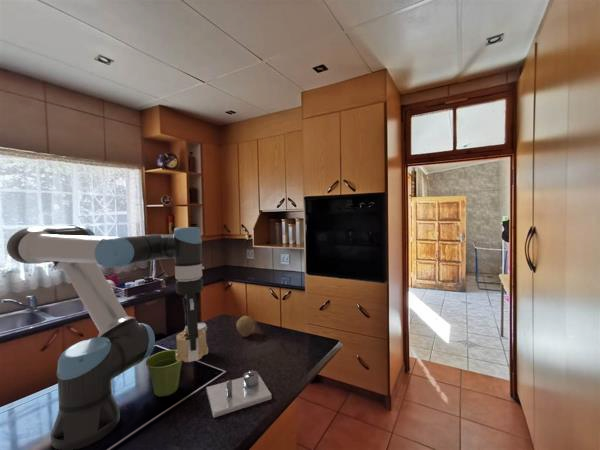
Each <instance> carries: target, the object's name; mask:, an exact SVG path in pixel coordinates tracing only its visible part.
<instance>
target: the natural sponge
mask: <svg viewBox="0 0 600 450" xmlns="http://www.w3.org/2000/svg"><path fill="white" fill-rule="evenodd" d="M255 326H256V325H255V321H254V319H253V318H252V317H251V316H249V315H243V316H241V317H239V319H238V320H237V321H236V330H237V331H238V333H239V334H240V335H241V336H242V337H244V338H245V337H246V338H247V337H248V336H250V335H252V334H254V332H255V330H256V327H255Z"/></svg>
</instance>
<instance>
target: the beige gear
mask: <svg viewBox="0 0 600 450" xmlns="http://www.w3.org/2000/svg"><path fill="white" fill-rule="evenodd" d="M191 335H192V334H191ZM198 335H199V337H198V357H199V360H200V359H202V358H203V356H205V355H208V353H209V347H208V344H207V331H206V332H205V330H202V329H198ZM187 337H188V330H186V331H184V330H183V331H182V332H180V333H177V334H176V349H175V350H176V351H175V356H176V360H177V361H179V360H182V362H184V363H189V362H188V340H185V338H187Z"/></svg>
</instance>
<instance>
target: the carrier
mask: <svg viewBox="0 0 600 450" xmlns="http://www.w3.org/2000/svg"><path fill="white" fill-rule="evenodd" d="M205 390H206V392H205V393H206V395H207V398H208V402H209V405H210V406H209V407H210V410H211V414H212V417H213V418H217V417H221V416H224V415H226V414H229V413H233V412H236V411H238V410H241V409H245V408H249V407H252V406H254V405H257V404H261V403H263V402H267V401H270V400H272V393H271V391H270V390H269V389H268V386H267V385H266V383H265V382H264V381H263V378H262V377H261V375H260V374H259V372H258V371H256V370H254V369H250V370H248V371H246V372H244V374H243V376H242V377H239V378H235V379H227V380H226V381H224V382H221V383H217V384H214V385H210V386H206V389H205Z"/></svg>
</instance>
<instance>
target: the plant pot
mask: <svg viewBox="0 0 600 450" xmlns="http://www.w3.org/2000/svg"><path fill="white" fill-rule="evenodd" d="M175 351H176V349H169V350H163V351H159V352H157V353H155V354H152V355H151V356H150V357H149V356H148V357H147V358H146V361H145V365H146V366H147V369H148V371H149V374H150V378H151V383H152V388H153V392H154V395H155V396H156V397H161V398H162V397H166V396H171V395H172V394H174V393H175V392H176V391H177V390H178V388H179V384H180V376H181V370H182V364H183V361H182V360H179V361H177V360H176V356H175Z"/></svg>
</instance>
